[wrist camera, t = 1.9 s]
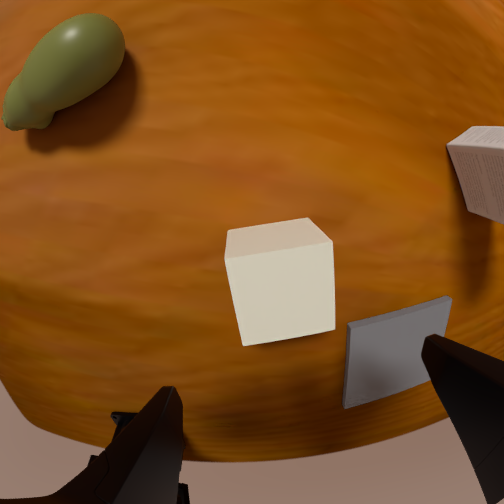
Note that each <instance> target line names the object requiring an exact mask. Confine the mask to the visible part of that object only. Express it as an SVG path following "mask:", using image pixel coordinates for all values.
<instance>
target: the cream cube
mask: <svg viewBox="0 0 504 504" xmlns="http://www.w3.org/2000/svg"><path fill="white" fill-rule="evenodd" d="M224 260H225V265H226V269H227V274H228V279H229V284H230V289H231V293H232V298H233V303H234V307H235V312H236V317H237V321H238V326H239V330H240V335H241V339H242V344H243V346H247V345H253V344H260V343H266V342H273V341H279V340H284V339H290V338H295V337H301V336H306V335H311V334H316V333H321V332H326V331H330V330H335V287H334V261H333V242H332V241H331V240H330V239H329V238H328V237H327V236H326V235H325V234H324V233H323V232H322V231H321V230H320V229H319V228H318V227H317V226H316V225H315V224H314V223H313V222H312V221H311V220H310V219H309V218H302V219H295V220H289V221H282V222H276V223H270V224H263V225H257V226H251V227H245V228H239V229H233V230H228V233H227V242H226V250H225V258H224Z"/></svg>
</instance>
